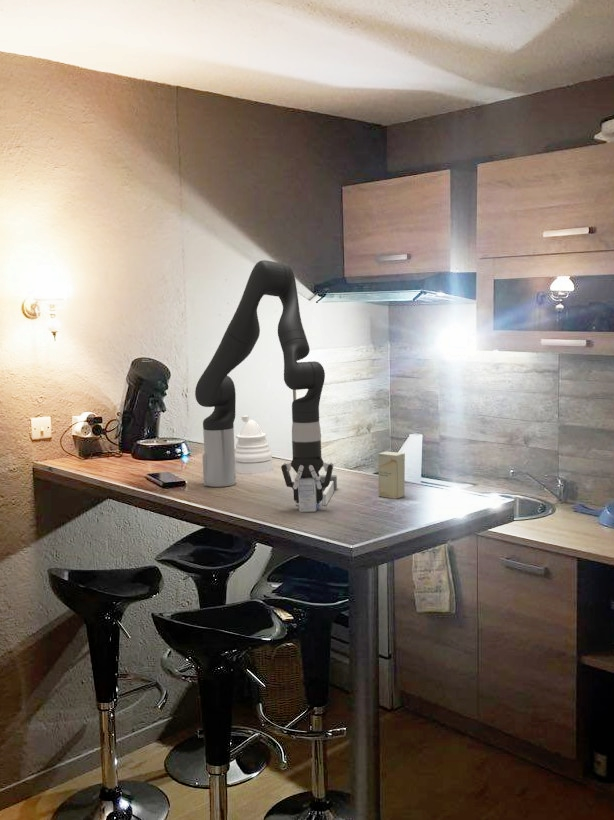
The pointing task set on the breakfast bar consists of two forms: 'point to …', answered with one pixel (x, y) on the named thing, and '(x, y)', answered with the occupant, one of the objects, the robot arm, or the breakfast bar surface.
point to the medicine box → (307, 494)
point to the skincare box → (391, 474)
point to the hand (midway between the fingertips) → (308, 502)
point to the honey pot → (252, 449)
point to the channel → (328, 488)
